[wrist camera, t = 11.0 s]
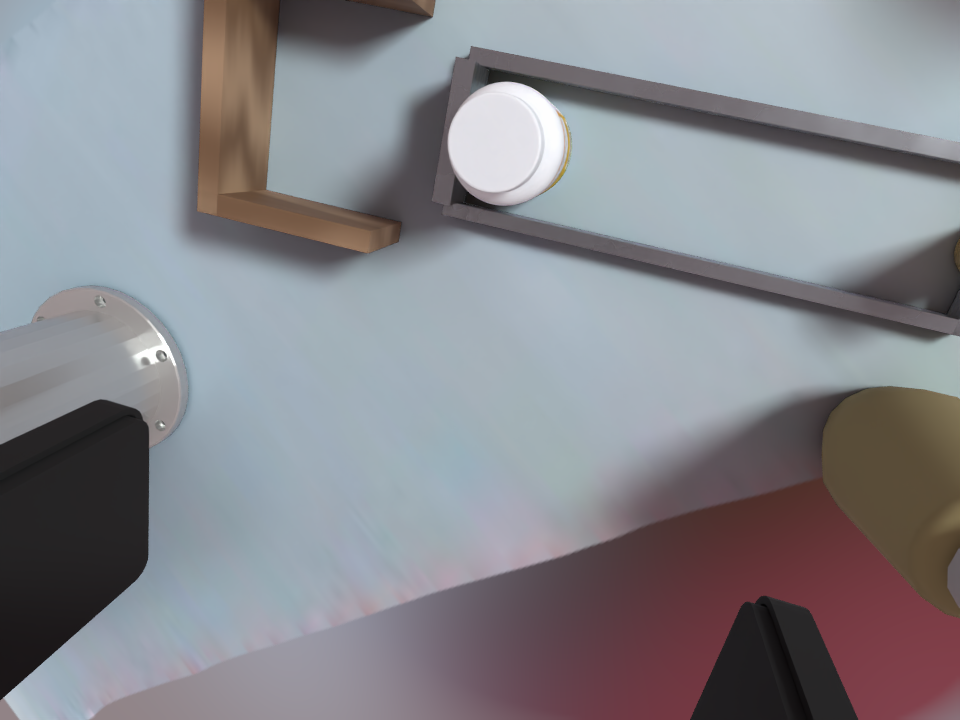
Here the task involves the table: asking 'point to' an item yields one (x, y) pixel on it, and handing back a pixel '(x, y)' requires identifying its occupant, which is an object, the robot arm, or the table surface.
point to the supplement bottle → (508, 144)
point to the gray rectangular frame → (475, 76)
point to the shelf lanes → (264, 130)
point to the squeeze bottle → (901, 482)
